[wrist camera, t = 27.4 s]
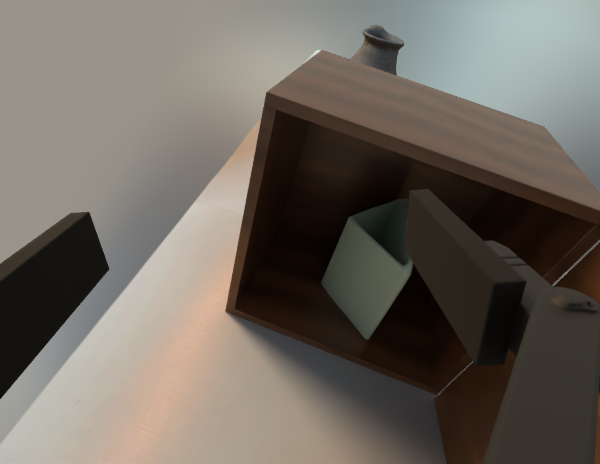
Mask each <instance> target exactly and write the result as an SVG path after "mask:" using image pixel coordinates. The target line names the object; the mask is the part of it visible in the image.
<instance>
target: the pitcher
mask: <svg viewBox="0 0 600 464" xmlns="http://www.w3.org/2000/svg"><path fill="white" fill-rule="evenodd" d="M363 34H364V36H365V40H364V43H363V45H362V47H361V48H360V49H359V50H358V52H357V53H356V54H355V55H354V56H353V57H352V58H351V59H350V60H353V61H355V62H358V63H361V64H364V65H367V66H370V67H373V68H376V69H379V70H382V71H384V72H387V73H390V74H393V75H396V76H397V74H396V62H397V55H398V51H399V49H400V48H401V47H403V46H404V42H403V41H402V40H401V39H399V38H398V37H396V36H393V35H390V34H389V33H388V32H386V31H385V30H384V28H383V27H381V26H378V25H372V26H370V27H369V28H368V29H365V30H363Z"/></svg>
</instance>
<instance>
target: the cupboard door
mask: <svg viewBox="0 0 600 464" xmlns="http://www.w3.org/2000/svg"><path fill="white" fill-rule="evenodd" d="M553 287H563V288H568V289H572V290H575V291H578V292H581V293H584V294H586V295H587V296H589V297H591V298H593V299H594V300H595V301H596V302H597V303H599V304H600V243H599V244H598V245H597V246H596V247H595V248H594V249H593V250H592V251H590V252H589V253H588V254H587V255H586V256H585V257H584V258H583V259H582V260H581V261H580V262H579V263H578V264H577V265H576V266H575V267H574V268H573V269H571V270H570V271H569V272H568V273H567V274H566V275H565V276H564V277H563V278H562V279H561V280H560V281H559V282H558V283H557V284H556V285H554V286H553ZM515 360H516V357H515V355H514V354H513V353H512V351H511V350H510V349H509V348H508V352H507V356H506V359H505V363H504V365H490V366H476V365H475V363H474V362H473V363H472V364H471V365H470V366H469V367H468V368H467V369H466V370H465V371H464V372H463V373H461V374H460V375H459V376H458V377H457V378H456V379H455V380H454V381H453V382H452V383H451V384H450V385H449V386H448V387H447V388H446V389H445V390H443V391H442V392H441V393H440V394H439V395H438V396H437V397H436V398H435V399H434V401H435V406H436V410H437V415H438V420H439V425H440V430H441V435H442V440H443V445H444V450H445V455H446V460H447V464H482V463H483V460H484V456H485V453H486V450H487V447H488V444H489V441H490V438H491V435H492V432H493V429H494V425H495V422H496V419H497V416H498V413H499V410H500V407H501V404H502V401H503V398H504V394H505V391H506V388H507V385H508V382H509V379H510V376H511V373H512V370H513V367H514V363H515ZM594 464H600V393H599V396H598V412H597V429H596V445H595V462H594Z"/></svg>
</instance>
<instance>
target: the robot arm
mask: <svg viewBox="0 0 600 464" xmlns="http://www.w3.org/2000/svg"><path fill="white" fill-rule="evenodd" d="M405 250H406V252H407V254H408V255H409V257H410V258H411V260H412V262H413V263H414V265H415V267H416V268H417V270H418V272H419V273H420V275H421V276H422V278H423V280H424V281H425V283H426V285H427V286H428V288H429V290H430V291H431V293H432V295H433V296H434V298H435V299H436V301H437V303H438V304H439V306H440V308H441V309H442V311H443V313H444V314H445V316H446V317H447V319H448V321H449V322H450V324H451V326H452V327H453V329H454V331H455V332H456V334H457V335H458V337H459V339H460V340H461V342H462V344H463V345H464V347H465V349H466V350H467V352H468V353H469V355H470V357H471V358H472V360H473V362H474V363H475V365H476V366H490V365H504V363H505V359H506V356H507V352H508V348H509V349H510V350H511V351H512V353H513V354H514V355H515V357H516V360H515V363H514V367H513V370H512V373H511V376H510V379H509V382H508V385H507V388H506V391H505V394H504V398H503V401H502V404H501V407H500V410H499V413H498V416H497V419H496V422H495V425H494V429H493V432H492V435H491V438H490V441H489V444H488V447H487V450H486V453H485V456H484V460H483V463H482V464H594V462H595V445H596V429H597V412H598V396H599V393H600V304H599V303H597V302H596V301H595V300H594V299H593V298H591V297H589V296H587V295H586V294H584V293H581V292H578V291H575V290H572V289H568V288H563V287H553V286H552V285H551V284H549V283H548V282H547V281H546V280H545V279H544V278H542V277H541V276H540V275H539V274H538V273H537V272H536V271H534V270H533V269H532V268H531V267H530V266H529V265H526V263H525V262H524V261H523V260H522V259H521V258H518V256H517V255H516V254H515V253H514V252H512V251H511V250H510V249H509V248H508V247H506V246H503V245H501V244H499V243H497V242H495V241H483V240H482V239H481V238H480V237H479V236H478V235H477V234H476V233H475V232H474V231H472V230H471V229H470V228H469V227H468V226H467V225H466V224H465V223H464V222H463V221H462V220H461V219H460V218H459V217H458V216H456V215H455V214H454V213H453V212H452V211H451V210H450V209H449V208H448V207H447V206H446V205H445V204H444V203H443V202H442V201H440V200H439V199H438V198H437V197H436V196H435V195H434V194H433V193H432V192H431V191H430V190H429V189H423V190H410V193H409V205H408V217H407V229H406V241H405ZM108 270H109V267H108V264H107V261H106V258H105V255H104V252H103V250H102V247H101V244H100V241H99V238H98V235H97V233H96V230H95V227H94V224H93V222H92V219H91V216H90V213H89V212H81V213H70V214H69V215H67V216H66V217H65V218H63V219H62V220H60V221H59V222H58V223H56V224H55V225H53V226H52V227H51V228H50V229H48V230H47V231H45V232H44V233H42V234H41V235H40V236H38V237H37V238H35V239H34V240H33V241H31V242H30V243H28V244H27V245H26V246H24V247H23V248H21V249H20V250H19V251H17V252H16V253H15V254H13V255H12V256H10V257H9V258H8V259H6V260H5V261H3V262H2V263H1V264H0V399H1V398H2V396H3V395H4V394H5V393H6V392H7V390H8V389H9V388H10V387H11V386H12V384H13V383H14V382H15V381H16V380H17V379H18V377H19V376H20V375H21V374H22V373H23V372H24V370H25V369H26V368H27V367H28V365H29V364H30V363H31V362H32V361H33V360H34V358H35V357H36V356H37V355H38V354H39V352H40V351H41V350H42V349H43V348H44V346H45V345H46V344H47V343H48V342H49V341H50V339H51V338H52V337H53V336H54V335H55V333H56V332H57V331H58V330H59V329H60V327H61V326H62V325H63V324H64V323H65V321H66V320H67V319H68V318H69V317H70V315H71V314H72V313H73V312H74V311H75V310H76V308H77V307H78V306H79V305H80V303H81V302H82V301H83V300H84V299H85V297H86V296H87V295H88V294H89V293H90V292H91V290H92V289H93V288H94V287H95V286H96V284H97V283H98V282H99V281H100V280H101V279H102V277H103V276H104V275H105V274H106V273H107V271H108Z"/></svg>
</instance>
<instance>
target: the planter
mask: <svg viewBox="0 0 600 464" xmlns="http://www.w3.org/2000/svg"><path fill="white" fill-rule="evenodd" d="M408 205H409V198H403V199H396V200H394V201H392V202H389V203H386V204H383V205H380V206H377V207H374V208H371V209H368V210H365V211H362V212H359V213H357V214H355V215H352V216H350V217H349V218H348V221H347V223H346V225H345V228H344V230H343V232H342V235H341V237H340V239H339V242H338V244H337V246H336V249H335V251H334V253H333V256H332V258H331V260H330V263H329V265H328V267H327V270H326V272H325V275H324V277H323V279H322V281H321V284H322V285H323V287H324V288H325V290H326V291H327V293H328V294H329V295H330V297H331V298H332V299H333V300H334V302H335V303H336V304H337V305H338V306H339V308H340V309H341V310H342V311H343V312H344V313H345V315H346V316H347V317H348V318H349V319H350V321H351V322H352V323H353V324H354V326H355V327H356V328H357V329H358V331H359V332H360V333H361V335H362V336H363V337H364V338H365V339H367V340H369V339H370V337H371V336H372V334H373V333H374V331H375V330H376V328H377V326H378V325H379V323H380V322H381V320H382V319H383V317H384V316H385V314H386V313H387V311H388V310H389V308H390V307H391V305H392V303H393V302H394V300H395V299H396V297H397V296H398V294H399V293H400V291H401V290H402V288H403V287H404V285H405V283H406V282H407V280H408V279H409V277H410V275H411V272H412V268H413V262H412V260H411V258H410V257H409V255H408V254H407V252H406V250H405V241H406V229H407V217H408Z"/></svg>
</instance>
